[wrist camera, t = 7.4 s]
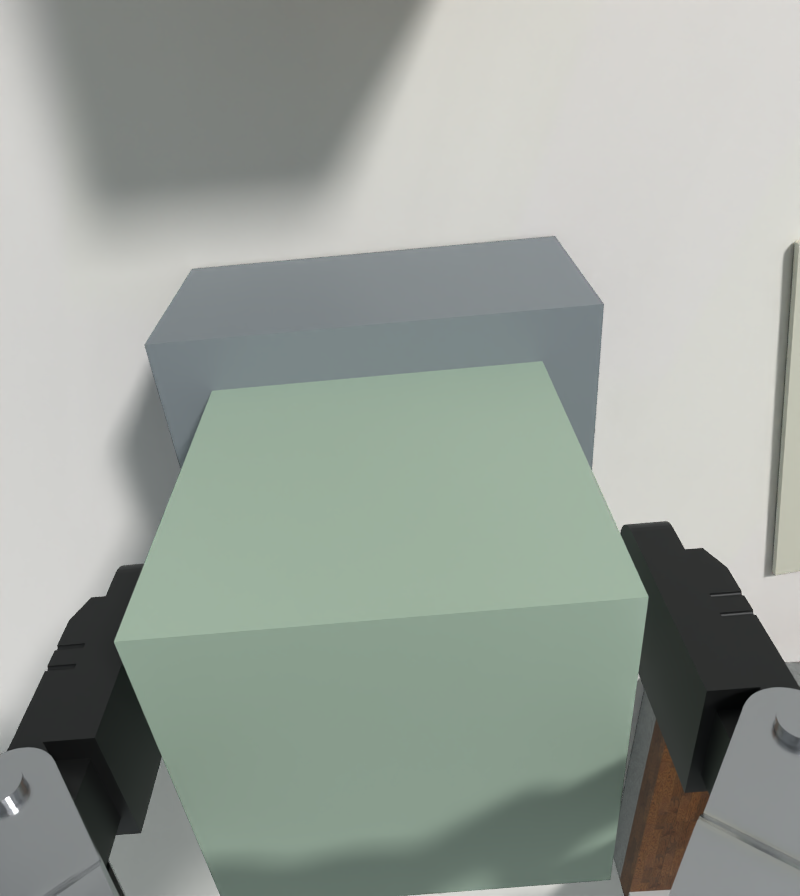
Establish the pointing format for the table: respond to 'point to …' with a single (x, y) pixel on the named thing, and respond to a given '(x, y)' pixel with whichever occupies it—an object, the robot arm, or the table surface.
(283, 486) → the brick sage
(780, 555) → the page
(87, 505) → the table surface
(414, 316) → the base brick
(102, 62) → the table surface
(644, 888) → the white square tower
